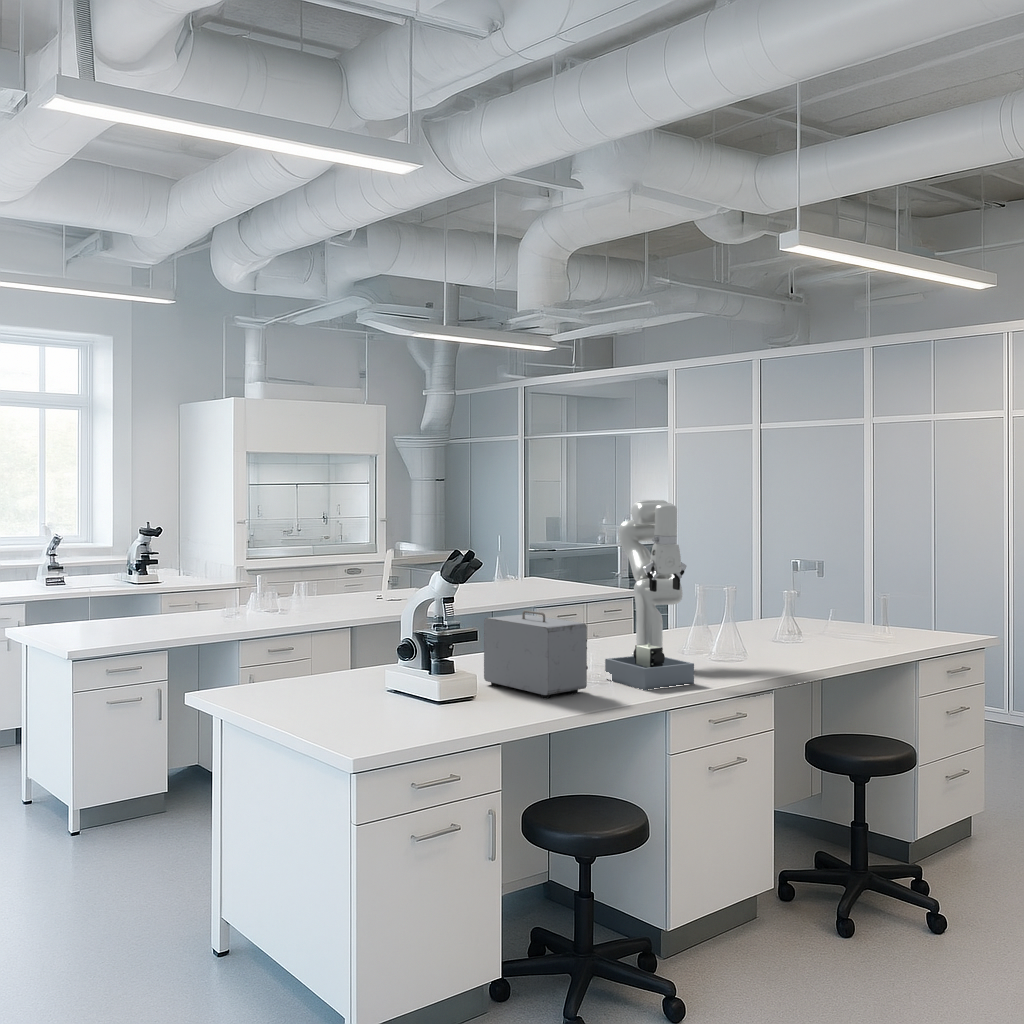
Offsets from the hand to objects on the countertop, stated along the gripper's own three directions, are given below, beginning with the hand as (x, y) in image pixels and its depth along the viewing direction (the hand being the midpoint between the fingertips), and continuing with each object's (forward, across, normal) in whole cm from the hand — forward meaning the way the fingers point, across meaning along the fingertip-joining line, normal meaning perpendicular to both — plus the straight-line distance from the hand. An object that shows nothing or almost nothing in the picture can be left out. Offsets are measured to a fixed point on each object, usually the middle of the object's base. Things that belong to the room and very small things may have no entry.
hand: (664, 590), depth 336 cm
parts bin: (+29, -12, -8) cm, 32 cm away
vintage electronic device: (+29, -50, 0) cm, 58 cm away
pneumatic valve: (+28, -11, -8) cm, 31 cm away
